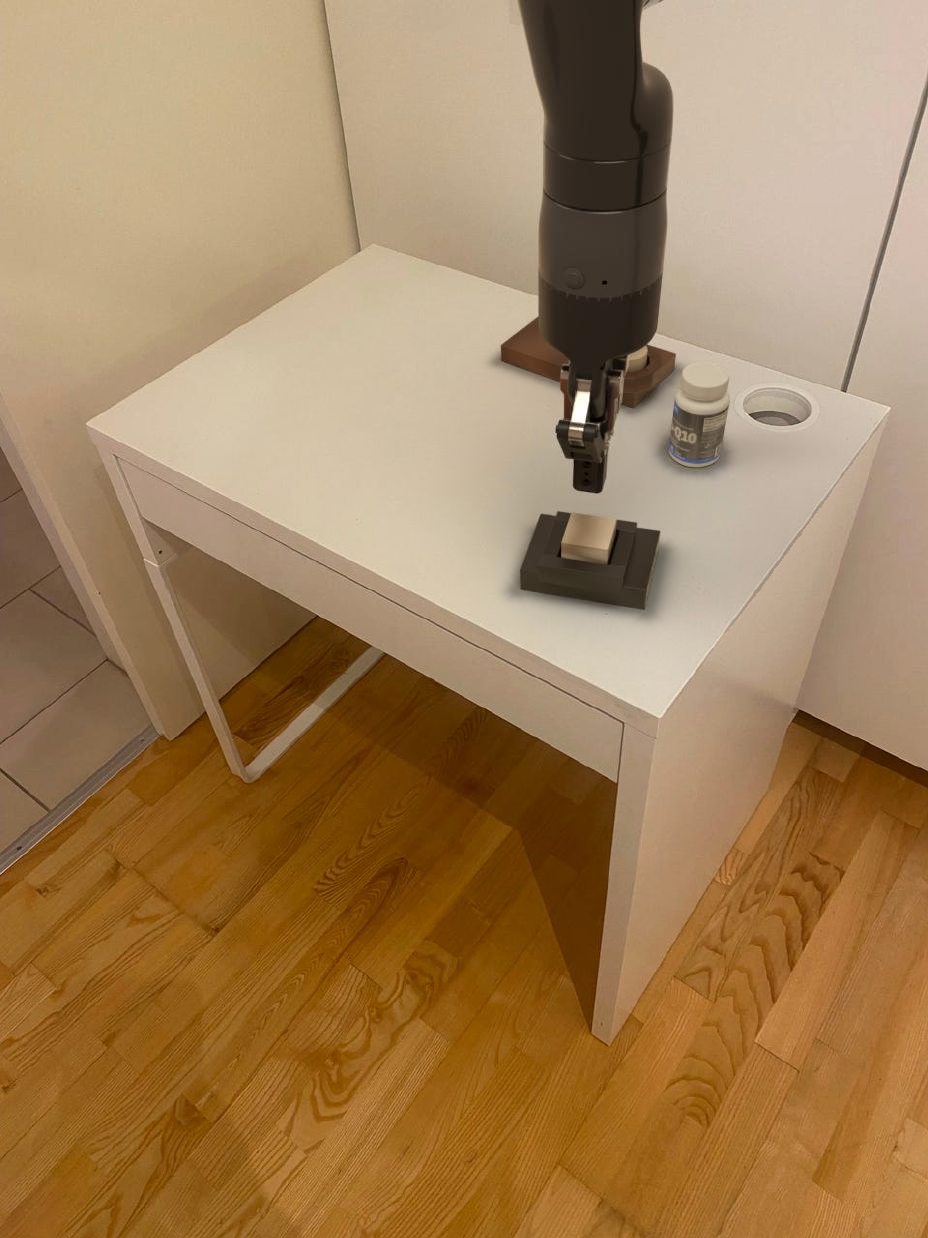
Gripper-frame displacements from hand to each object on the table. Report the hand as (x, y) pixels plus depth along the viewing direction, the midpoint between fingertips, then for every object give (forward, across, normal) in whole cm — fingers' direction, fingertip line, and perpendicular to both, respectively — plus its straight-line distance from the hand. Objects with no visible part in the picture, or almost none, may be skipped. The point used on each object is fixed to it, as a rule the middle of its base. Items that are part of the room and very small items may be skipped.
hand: (589, 485), depth 70 cm
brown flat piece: (+10, +31, +6) cm, 33 cm away
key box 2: (+10, +1, 0) cm, 10 cm away
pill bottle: (+10, +18, -6) cm, 22 cm away
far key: (+7, +27, +1) cm, 28 cm away
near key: (+6, 0, 0) cm, 6 cm away
